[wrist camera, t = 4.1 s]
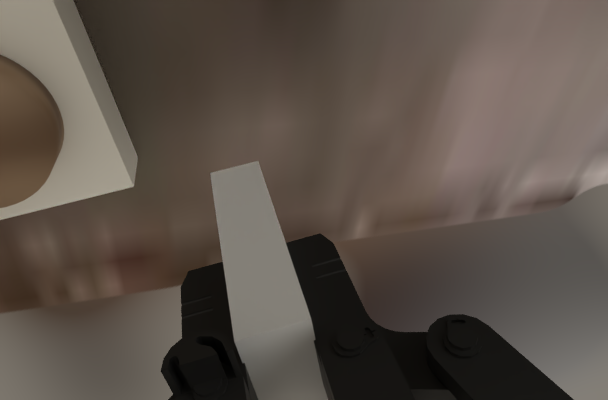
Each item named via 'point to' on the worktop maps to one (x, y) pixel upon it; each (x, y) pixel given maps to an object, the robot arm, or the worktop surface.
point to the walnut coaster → (26, 133)
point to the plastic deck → (69, 102)
